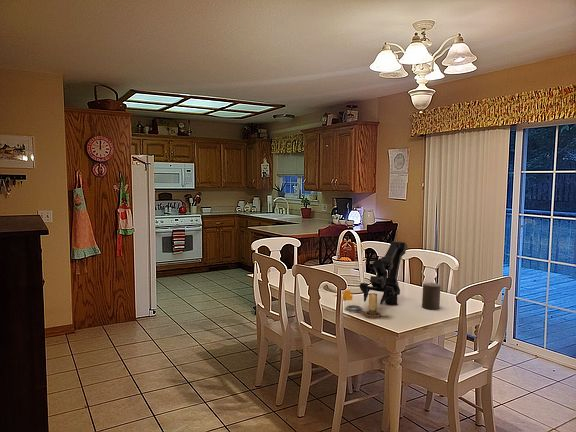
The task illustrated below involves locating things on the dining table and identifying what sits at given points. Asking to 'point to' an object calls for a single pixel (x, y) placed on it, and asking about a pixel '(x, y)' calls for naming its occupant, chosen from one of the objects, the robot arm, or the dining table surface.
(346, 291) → the pipe clamp
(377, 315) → the stand collar
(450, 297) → the dining table surface
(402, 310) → the dining table surface
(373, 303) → the sleeve
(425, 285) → the pillar candle
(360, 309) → the hub
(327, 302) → the dining table surface
